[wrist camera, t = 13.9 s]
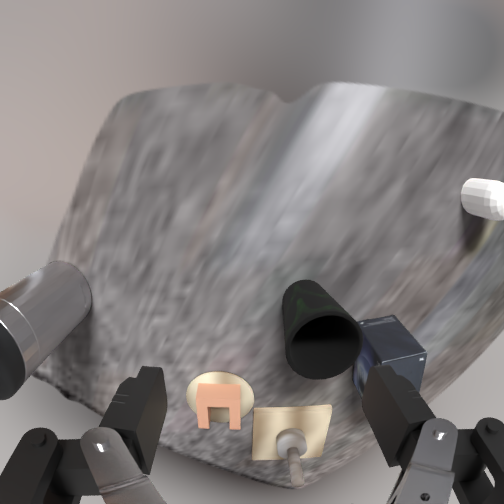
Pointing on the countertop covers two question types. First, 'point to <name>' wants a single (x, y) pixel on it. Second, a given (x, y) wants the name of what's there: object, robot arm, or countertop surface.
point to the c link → (218, 402)
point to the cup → (318, 332)
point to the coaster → (221, 378)
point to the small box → (389, 351)
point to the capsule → (483, 198)
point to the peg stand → (290, 435)
